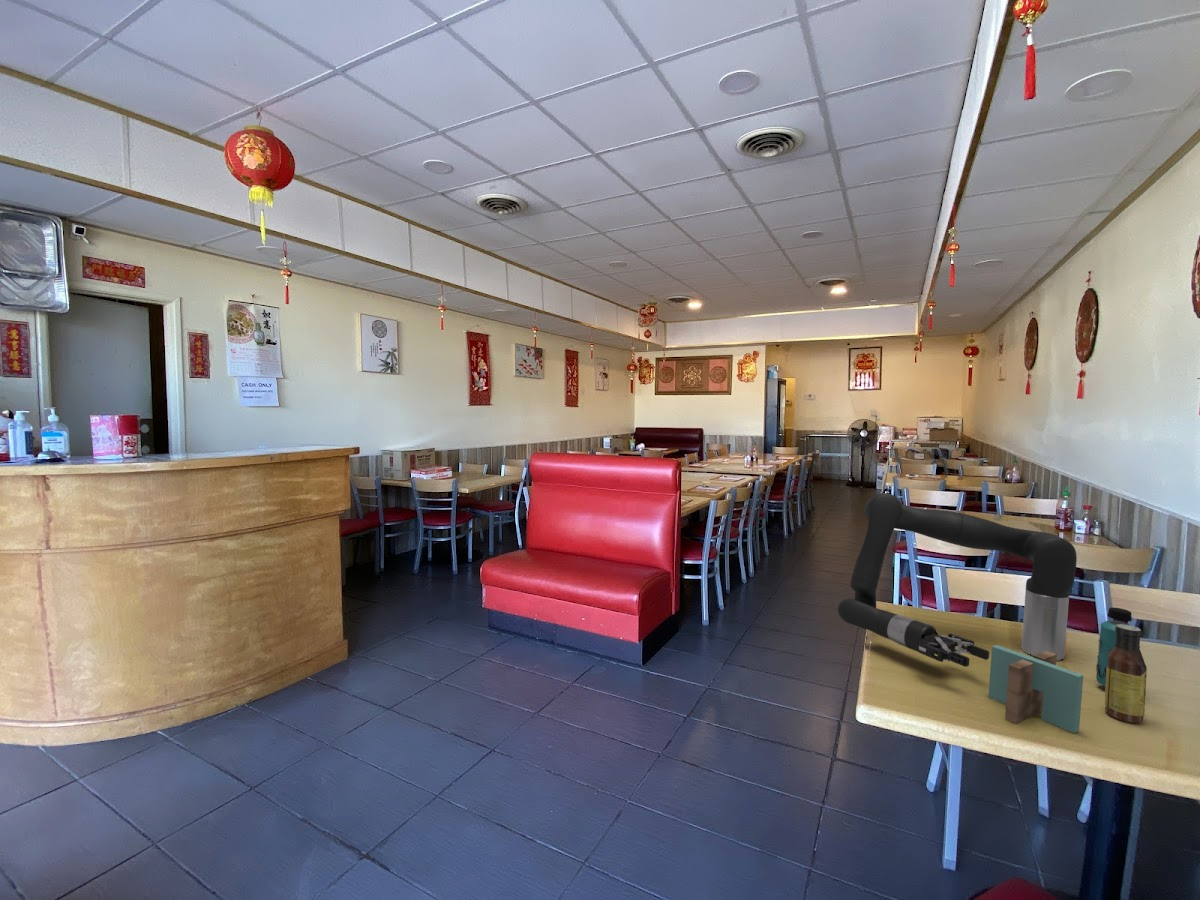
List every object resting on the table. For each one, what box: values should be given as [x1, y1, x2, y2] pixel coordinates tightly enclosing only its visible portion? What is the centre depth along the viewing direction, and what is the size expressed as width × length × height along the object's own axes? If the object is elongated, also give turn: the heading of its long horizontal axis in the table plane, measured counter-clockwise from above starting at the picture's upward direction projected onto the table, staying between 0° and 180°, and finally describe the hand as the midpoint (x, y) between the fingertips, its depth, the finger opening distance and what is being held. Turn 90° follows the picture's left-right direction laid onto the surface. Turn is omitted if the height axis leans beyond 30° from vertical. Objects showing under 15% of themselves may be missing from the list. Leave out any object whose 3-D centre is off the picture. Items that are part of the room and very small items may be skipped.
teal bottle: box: [1095, 607, 1133, 687], centre depth 128 cm, size 6×7×20 cm
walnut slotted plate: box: [1004, 651, 1057, 724], centre depth 118 cm, size 16×2×12 cm, turn 118°
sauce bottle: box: [1104, 624, 1148, 724], centre depth 117 cm, size 7×6×20 cm
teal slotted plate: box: [987, 644, 1084, 734], centre depth 118 cm, size 16×2×12 cm, turn 28°
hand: (978, 659), depth 127 cm, fingers open, 8 cm apart
